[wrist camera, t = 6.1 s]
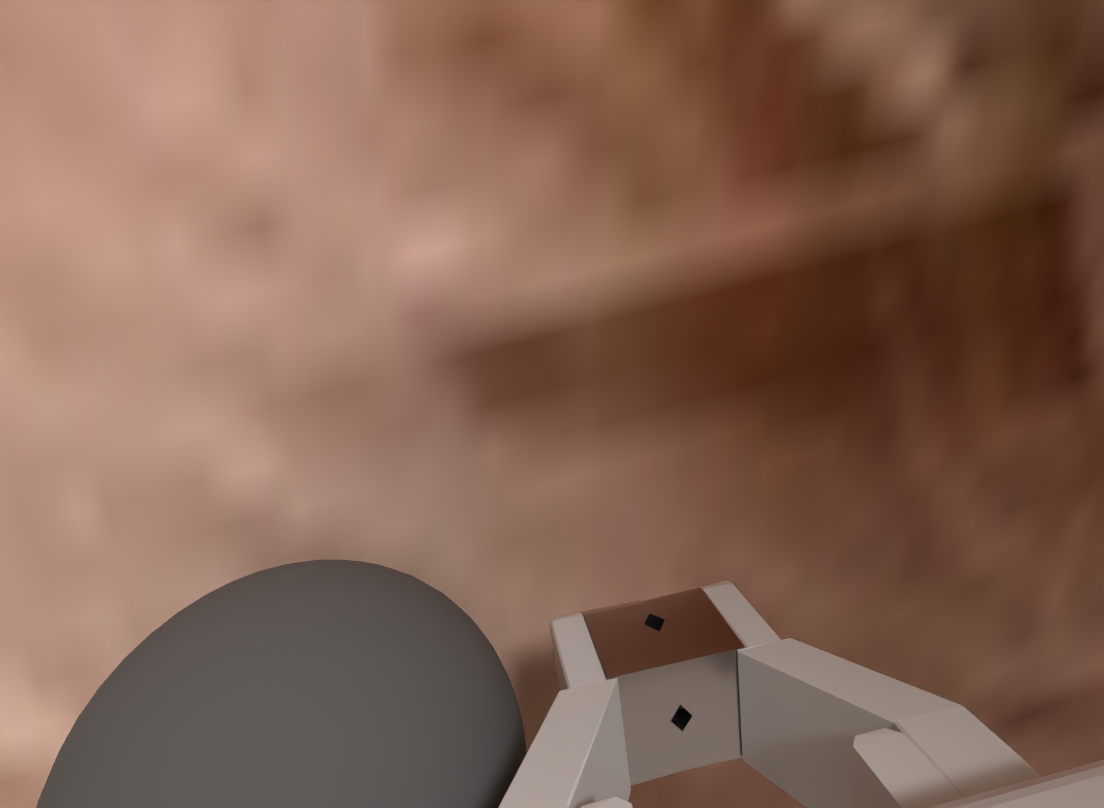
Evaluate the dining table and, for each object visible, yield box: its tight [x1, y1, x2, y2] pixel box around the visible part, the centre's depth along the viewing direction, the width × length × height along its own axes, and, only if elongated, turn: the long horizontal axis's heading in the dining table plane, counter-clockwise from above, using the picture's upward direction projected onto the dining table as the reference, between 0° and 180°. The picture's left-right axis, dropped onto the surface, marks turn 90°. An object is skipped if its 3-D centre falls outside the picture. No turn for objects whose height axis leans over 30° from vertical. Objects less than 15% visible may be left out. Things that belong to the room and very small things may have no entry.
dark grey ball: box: [36, 560, 527, 808], centre depth 8 cm, size 6×6×6 cm
